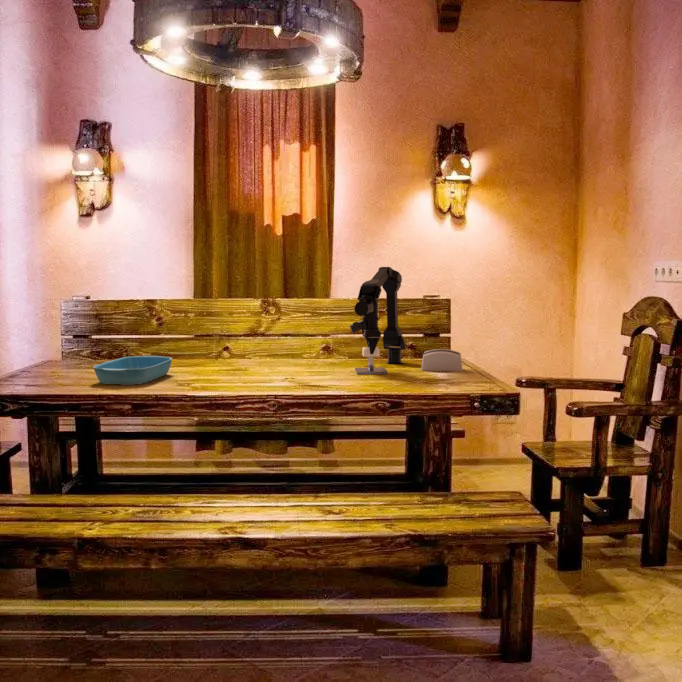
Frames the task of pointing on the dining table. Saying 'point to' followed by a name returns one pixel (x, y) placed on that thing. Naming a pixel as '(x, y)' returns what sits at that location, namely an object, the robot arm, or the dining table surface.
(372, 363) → the grey base with post
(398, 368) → the dining table surface
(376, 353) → the collar
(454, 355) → the napkin holder
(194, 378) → the dining table surface
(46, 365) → the dining table surface
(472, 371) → the dining table surface
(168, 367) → the casserole dish
